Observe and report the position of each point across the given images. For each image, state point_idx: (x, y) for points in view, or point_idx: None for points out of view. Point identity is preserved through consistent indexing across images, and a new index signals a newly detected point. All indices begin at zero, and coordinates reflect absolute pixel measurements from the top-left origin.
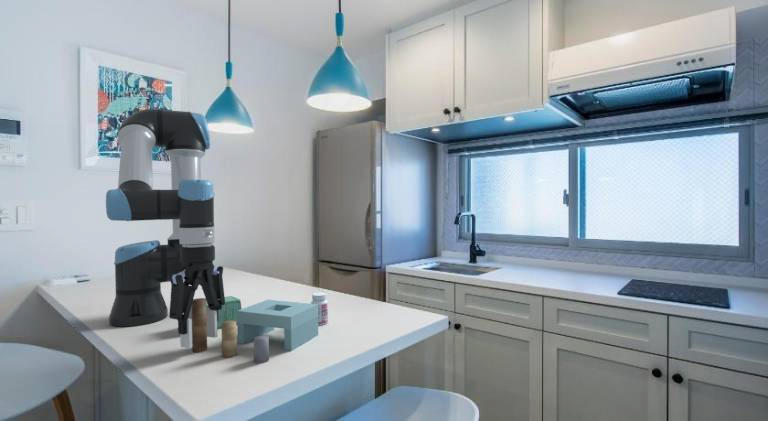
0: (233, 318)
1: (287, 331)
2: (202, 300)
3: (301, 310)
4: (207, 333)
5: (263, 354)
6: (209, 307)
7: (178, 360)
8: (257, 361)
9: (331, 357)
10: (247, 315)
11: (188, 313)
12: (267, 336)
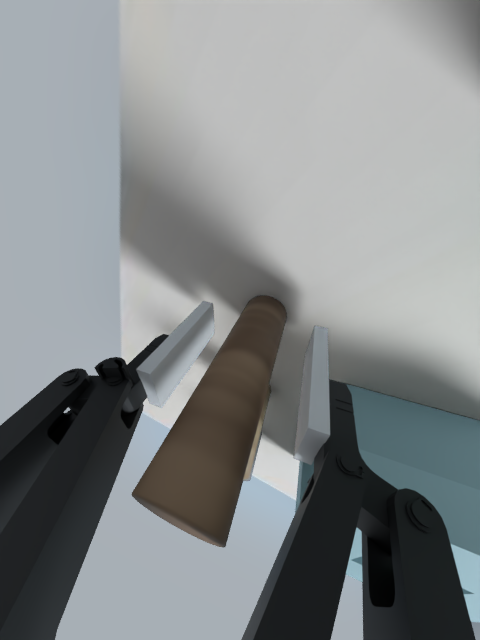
0: None
1: (298, 500)
2: (178, 526)
3: (356, 577)
4: (312, 337)
5: None
6: (325, 456)
7: (192, 302)
8: None
9: (284, 486)
10: None
11: (129, 428)
12: (247, 480)
